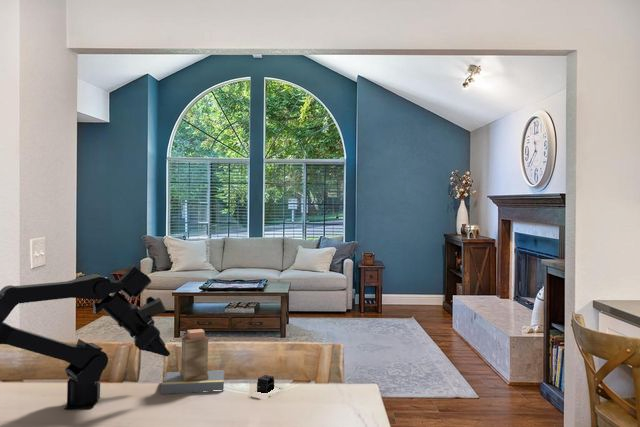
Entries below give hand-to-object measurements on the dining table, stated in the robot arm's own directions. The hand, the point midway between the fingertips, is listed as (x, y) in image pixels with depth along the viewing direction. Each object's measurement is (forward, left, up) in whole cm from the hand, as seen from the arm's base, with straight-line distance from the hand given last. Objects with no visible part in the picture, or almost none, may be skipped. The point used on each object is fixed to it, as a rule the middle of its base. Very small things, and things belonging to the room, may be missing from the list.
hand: (166, 350), depth 130 cm
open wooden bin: (+7, +2, -8) cm, 11 cm away
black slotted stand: (+26, -5, -11) cm, 29 cm away
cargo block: (+7, +2, +2) cm, 8 cm away
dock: (+7, +2, -11) cm, 13 cm away
